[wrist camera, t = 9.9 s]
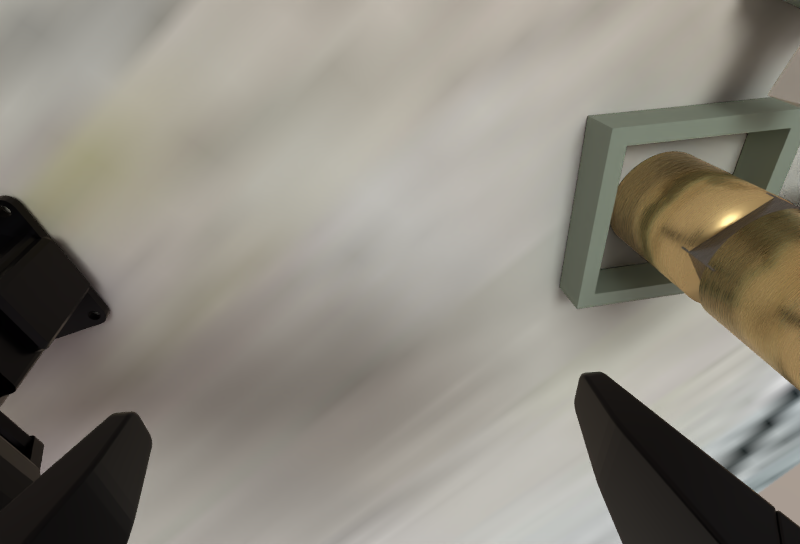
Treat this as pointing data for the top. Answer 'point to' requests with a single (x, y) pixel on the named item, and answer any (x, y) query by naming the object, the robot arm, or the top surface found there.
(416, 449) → the top surface
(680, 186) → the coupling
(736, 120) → the shaft bench
